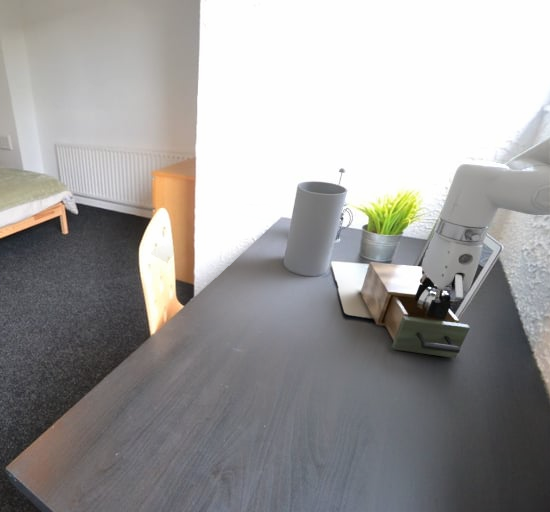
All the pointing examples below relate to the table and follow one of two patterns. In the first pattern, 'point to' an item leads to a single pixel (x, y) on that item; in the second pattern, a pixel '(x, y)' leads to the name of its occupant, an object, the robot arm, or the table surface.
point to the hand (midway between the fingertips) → (428, 308)
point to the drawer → (422, 329)
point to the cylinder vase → (314, 227)
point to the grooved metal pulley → (427, 298)
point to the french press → (342, 215)
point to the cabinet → (388, 286)
